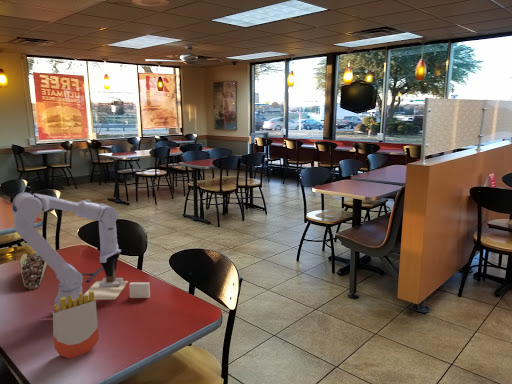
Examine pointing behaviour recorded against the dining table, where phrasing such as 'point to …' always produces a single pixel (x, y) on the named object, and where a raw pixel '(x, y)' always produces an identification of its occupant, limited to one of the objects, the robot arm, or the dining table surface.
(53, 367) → the dining table surface
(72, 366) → the dining table surface
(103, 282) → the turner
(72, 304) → the french fries container
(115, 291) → the board
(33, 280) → the taco
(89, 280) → the bracket
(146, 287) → the tile
